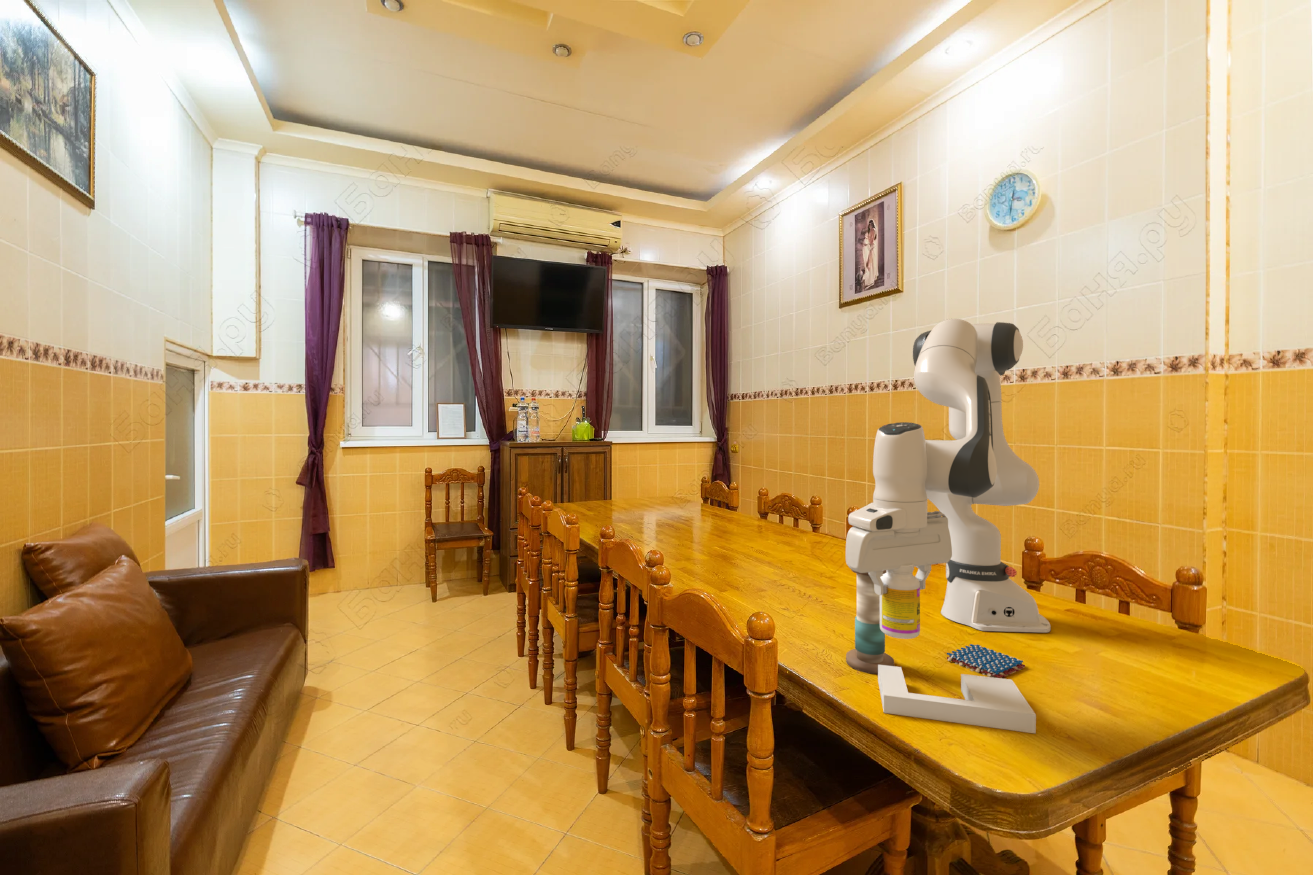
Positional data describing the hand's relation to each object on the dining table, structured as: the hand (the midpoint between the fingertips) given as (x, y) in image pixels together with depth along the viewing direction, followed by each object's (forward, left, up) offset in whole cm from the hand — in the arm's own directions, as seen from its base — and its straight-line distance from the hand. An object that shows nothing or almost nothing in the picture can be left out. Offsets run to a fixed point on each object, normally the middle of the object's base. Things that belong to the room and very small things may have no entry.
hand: (899, 591), depth 99 cm
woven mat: (-18, -17, -19) cm, 31 cm away
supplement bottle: (0, 0, -8) cm, 8 cm away
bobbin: (+4, -11, -18) cm, 22 cm away
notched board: (-8, +2, -18) cm, 20 cm away
